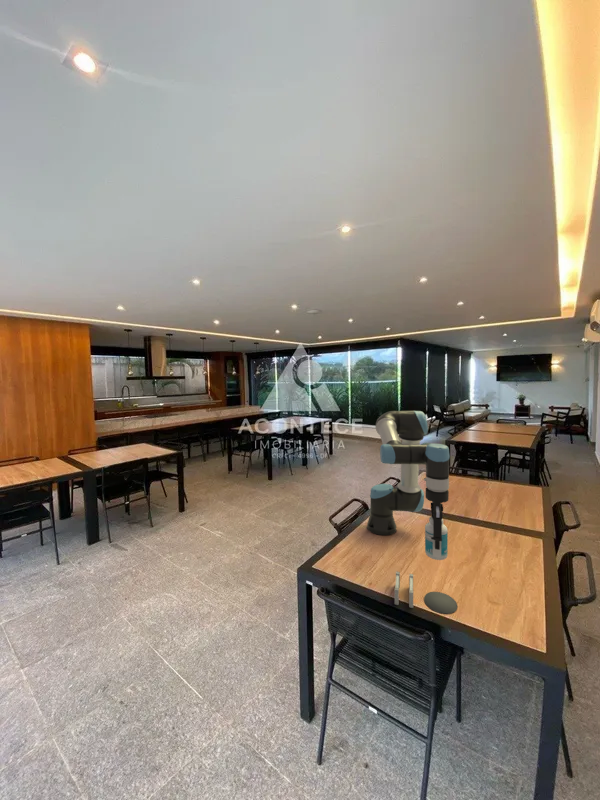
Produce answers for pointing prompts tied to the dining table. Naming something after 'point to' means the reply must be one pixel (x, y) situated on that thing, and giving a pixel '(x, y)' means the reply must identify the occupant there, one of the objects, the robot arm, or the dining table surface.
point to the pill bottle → (430, 541)
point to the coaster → (440, 602)
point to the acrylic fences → (399, 587)
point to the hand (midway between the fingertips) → (436, 550)
